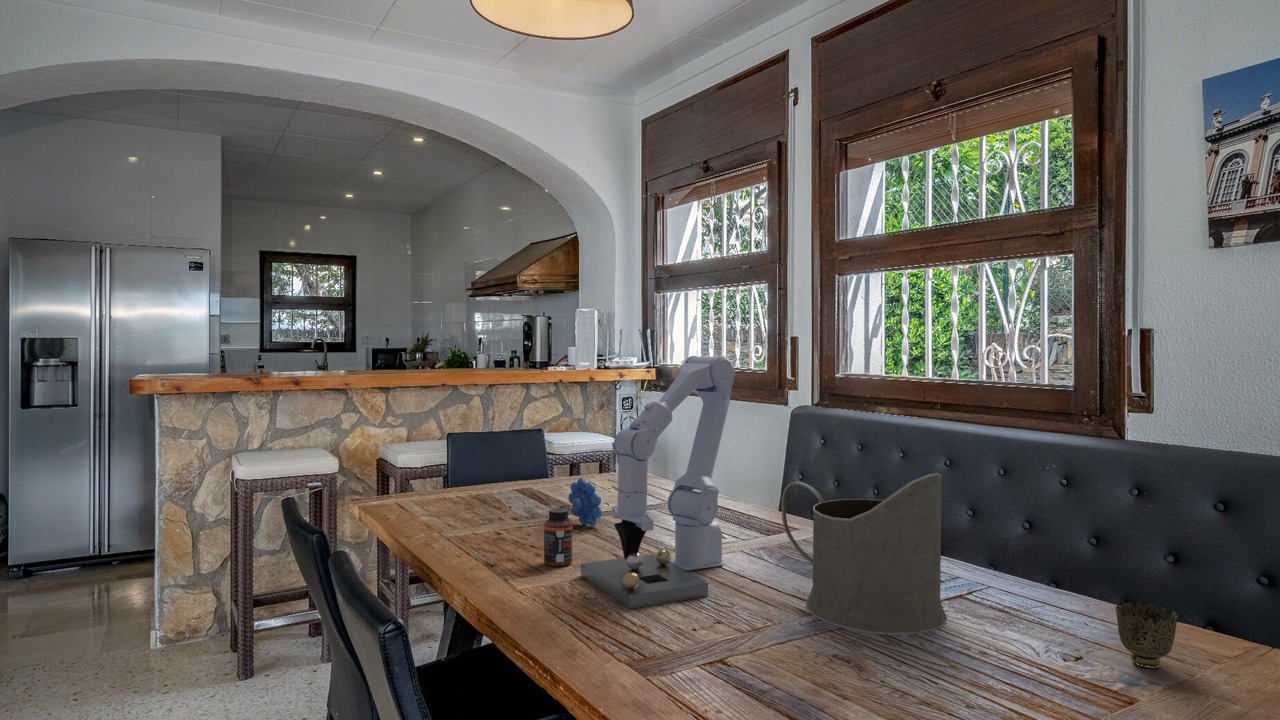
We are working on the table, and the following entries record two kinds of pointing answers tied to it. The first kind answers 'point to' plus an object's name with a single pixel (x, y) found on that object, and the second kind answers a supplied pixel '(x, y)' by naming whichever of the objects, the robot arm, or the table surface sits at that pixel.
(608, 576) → the plate
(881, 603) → the pitcher
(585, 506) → the grapes
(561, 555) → the supplement bottle
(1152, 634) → the cup
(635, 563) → the steel ball
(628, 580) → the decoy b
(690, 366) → the robot arm
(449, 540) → the table surface
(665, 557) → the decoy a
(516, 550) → the table surface
